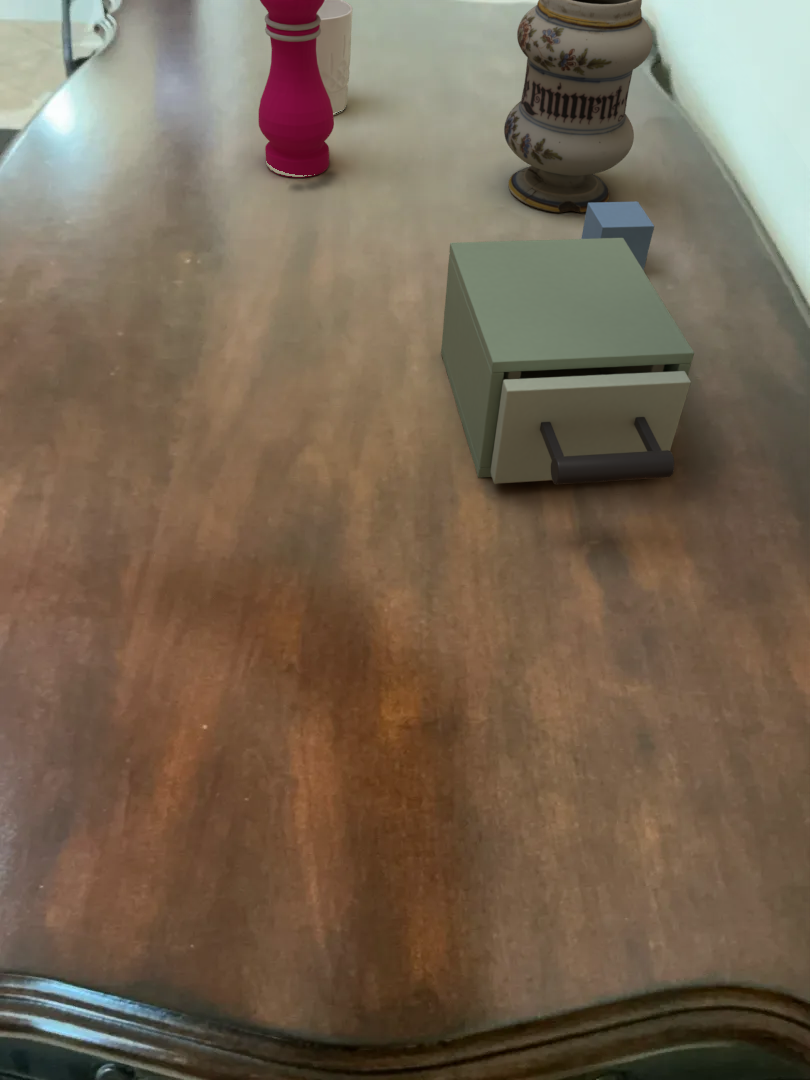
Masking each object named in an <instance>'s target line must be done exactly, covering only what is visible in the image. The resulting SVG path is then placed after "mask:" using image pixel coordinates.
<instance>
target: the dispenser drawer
mask: <svg viewBox="0 0 810 1080" xmlns="http://www.w3.org/2000/svg"><path fill="white" fill-rule="evenodd" d="M663 369H664V365H644V366H623V367H601V368H580V369H559V370H537V371H516V372H504V377H503V384H502V391H501V398H500V406H499V413H498V420H497V427H496V434H495V441H494V450H493V457H492V464H491V471H490V472H491V476H492V477H491V478H492V482H493V484H495V485H496V484H511V483H526V482H527V483H528V482H529V483H530V482H543V481H552V482H553V484H554V485H569V484H585V483H603V482H617V481H633V480H649V479H651V480H652V479H665V478H671V477H672V476H673V474H674V471H675V459H674V454H673V453H672V451H671V449H672V446H673V442H674V440H675V436H676V433H677V430H678V426H679V422H680V420H681V416H682V412H683V410H684V407H685V403H686V400H687V397H688V393H689V390H690V386H691V383H692V382H691V380H690V377H689V375H688V376H687V374H686V373H685V371H674V372H663Z"/></svg>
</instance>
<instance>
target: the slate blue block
mask: <svg viewBox="0 0 810 1080" xmlns="http://www.w3.org/2000/svg"><path fill="white" fill-rule="evenodd" d="M654 228H655V225H654V223H653V221H652V220H651V219H650V218H649V216H648V214H647V212H645V210H644V208H643V207H642V205H641V204H640V202H639V201H607V202H597V203H588V205H587V211H586V212H585V216H584V222H583V227H582V233H581V238H580V239H597V238H624V240H625V242H626V243H627V245H628V247H629V248H630V250H631V251H632V253H633V255H634V256H635V258H636V259H637V261H638V263H639V264H640V266H641V268H642V269H643V271H644V272H645V267H646V263H647V259H648V255H649V250H650V247H651V242H652V238H653V234H654V230H655V229H654Z"/></svg>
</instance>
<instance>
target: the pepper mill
mask: <svg viewBox="0 0 810 1080" xmlns="http://www.w3.org/2000/svg"><path fill="white" fill-rule="evenodd" d="M259 1H260V3H261V5H262V6H263V7H264V8H265V9H266V11H267V13H266V14H265V16H264V22H265V29H264V31H265V34H266V35H267V36H269V37H270V38H269V39H270V40H269V41H270V47H271V54H270V55H271V56H270V67H269V72H268V77H267V79H266V83H265V86H264V89H263V92H262V94H261V98H260V102H259V107H258V127H259V129H260V132H261V133H262V135H263V136H264V137H265V139H266V140H267V141H268V142H267V143H266V145H265V148H264V151H265V153H264V154H265V162H266V161H267V163H268V164H269V165H271V166H272V167H273V168H275V169H277V170H279V171H283V172H285V173H289V174H295V175H303V176H304V175H307V176H305V177H292V176H285V175H281V174H277V173H275V172H273V171H271V170H270V169H269V168H268V170H269V171H271V172H272V173H273V174H276V175H278V176H282V177H286V178H293V179H298V178H300V179H302V178H311V177H315V176H318V175H320V174H323V173H324V172H325V171H326V170H328V168H329V167H330V146H329V145H328V143H327V142H326V140H328V138H329V137H330V135H331V134H332V132H333V130H334V125H335V119H334V115H333V110H332V106H331V102H330V98H329V96H328V94H327V91H326V89H325V87H324V84H323V81H322V79H321V76H320V72H319V68H318V64H317V55H316V37H318V36H319V35H320V33H321V29H320V25H319V24H320V22H321V19H320V17H319V16H318V15H317V12H318V10H319V9H320V7H321V6H322V5H323V3H324V1H325V0H259ZM314 174H315V175H314ZM308 175H312V176H308Z"/></svg>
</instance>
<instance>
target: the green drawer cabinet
mask: <svg viewBox="0 0 810 1080" xmlns="http://www.w3.org/2000/svg"><path fill="white" fill-rule="evenodd" d="M447 263H448V265H447V278H446V286H445V287H446V288H445V289H446V290H445V300H444V311H443V312H444V313H443V325H442V334H441V335H442V336H441V348H440V354H441V357H442V361H443V364H444V367H445V368H444V369H445V371H446V374H447V378H448V382H449V385H450V388H451V391H452V394H453V398H454V401H455V406H456V408H457V411H458V415H459V418H460V421H461V425H462V429H463V431H464V435H465V437H466V442H467V445H468V447H469V452H470V455H471V458H472V461H473V466H474V468H475V472H476V474H477V478H478V479H479V478H481V479H482V478H492V476H491V472H490V471H491V464H492V457H493V450H494V441H495V434H496V427H497V420H498V413H499V406H500V398H501V391H502V384H503V377H504V372H516V371H537V370H559V369H580V368H601V367H623V366H644V365H664V369H663V372H674V371H685V373H686V374H687V376H688V377H689V373H690V369H691V366H692V362H693V359H694V355H695V351H694V350H693V348H692V346H691V345H690V343H689V342H688V340H687V339H686V336H685V335H684V333H683V332H682V330H681V329H680V327H679V325H678V324H677V322H676V320H675V319H674V317H673V316H672V313H670V312H669V310H668V308H667V306H666V304H665V303H664V302H663V300H662V297H660V295H659V293H658V291H657V290H656V288H655V287H654V285H653V283H652V282H651V280H650V279H649V277H648V275H647V274H646V272H645V270H644V271H643V269H642V268H641V266H640V264H639V263H638V261H637V259H636V258H635V256H634V255H633V253H632V251H631V250H630V248H629V247H628V245H627V243H626V242H625V240H624V238H597V239H581V238H567V239H565V238H563V239H533V240H499V241H497V240H496V241H495V240H494V241H463V242H462V241H461V242H460V241H459V242H458V241H457V242H450V243H449V254H448V262H447Z"/></svg>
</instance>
